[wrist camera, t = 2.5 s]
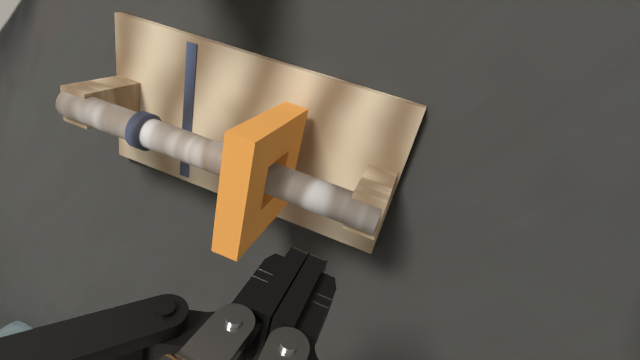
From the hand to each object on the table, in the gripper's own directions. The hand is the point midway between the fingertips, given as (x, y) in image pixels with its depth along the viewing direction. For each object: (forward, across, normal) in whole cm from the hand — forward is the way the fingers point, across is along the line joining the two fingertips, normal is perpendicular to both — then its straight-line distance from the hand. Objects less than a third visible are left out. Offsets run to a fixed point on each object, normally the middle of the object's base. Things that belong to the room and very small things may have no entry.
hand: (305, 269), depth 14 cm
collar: (+16, +7, +3) cm, 18 cm away
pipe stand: (+18, +11, +3) cm, 21 cm away
